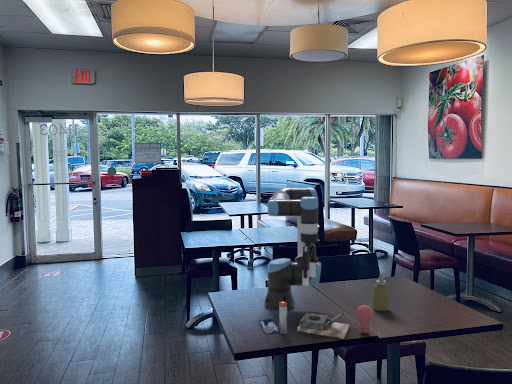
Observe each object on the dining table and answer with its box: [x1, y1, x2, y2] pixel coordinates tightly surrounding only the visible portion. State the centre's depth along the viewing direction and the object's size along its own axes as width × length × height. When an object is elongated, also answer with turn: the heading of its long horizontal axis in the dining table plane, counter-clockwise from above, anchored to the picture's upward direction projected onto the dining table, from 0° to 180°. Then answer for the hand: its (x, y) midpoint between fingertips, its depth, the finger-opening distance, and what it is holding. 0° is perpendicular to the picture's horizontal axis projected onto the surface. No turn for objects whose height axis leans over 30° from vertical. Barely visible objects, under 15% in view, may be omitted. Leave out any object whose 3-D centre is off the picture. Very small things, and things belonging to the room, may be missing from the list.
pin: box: [278, 301, 288, 335], centre depth 175 cm, size 3×3×14 cm
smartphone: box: [257, 317, 279, 334], centre depth 182 cm, size 7×1×15 cm
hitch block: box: [296, 312, 350, 340], centre depth 178 cm, size 20×12×4 cm, turn 67°
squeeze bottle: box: [371, 272, 390, 312], centre depth 201 cm, size 8×8×18 cm
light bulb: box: [355, 304, 375, 334], centre depth 174 cm, size 7×7×12 cm
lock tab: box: [327, 311, 345, 327], centre depth 176 cm, size 9×5×1 cm
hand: (309, 280), depth 180 cm, fingers open, 13 cm apart
